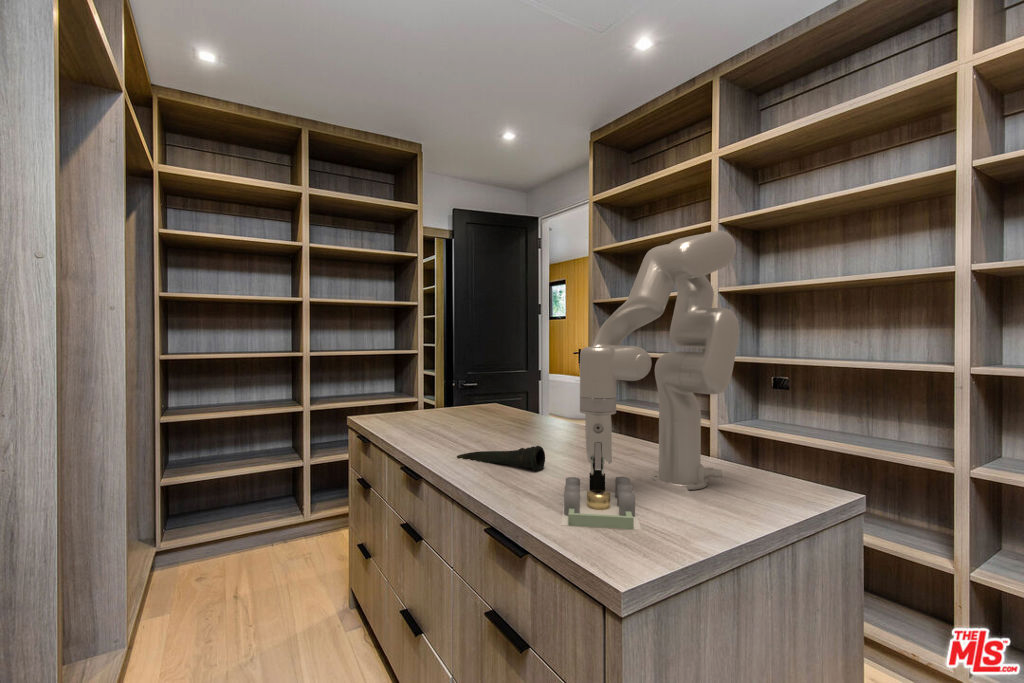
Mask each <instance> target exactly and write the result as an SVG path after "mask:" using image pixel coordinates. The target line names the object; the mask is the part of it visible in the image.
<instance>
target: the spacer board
mask: <svg viewBox="0 0 1024 683" xmlns="http://www.w3.org/2000/svg"><path fill="white" fill-rule="evenodd" d="M614 480H615V484H614V485H615V488H614V490H615V492H609V491H608V492H609V493H610V508H609V509H607V510H594V509H591V508H589V507H587V492H588V491H589V490H587V491H586V490H581V479H580V478H579V477H576V476H569V477H566V478H565V485H564V491H563V506H562V514H561V515H562V516H561V522H560V525H561V526H565V527H581V528H599V529H612V530H613V529H616V530H632V531H635V530H636V531H642V527H641V524H640V522H639V518H638V516H637V512H636V493H635V492H633V485H632V484H631V478H629V477H627V476H616V477H615V478H614Z"/></svg>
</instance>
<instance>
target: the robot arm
mask: <svg viewBox="0 0 1024 683" xmlns="http://www.w3.org/2000/svg"><path fill="white" fill-rule="evenodd" d="M736 253H737V245H736V241H735V238H734V236H732V235H731V234H730V233H729V232H728V231H725V230H716V231H710V232H705V233H701V234H694V235H690V236H686V237H681V238H678V239H677V238H676V239H675V240H673V241H671V242H670V243H667V244H662V245H658V246H655V247H653V248H651V249H650V250H648V251H647V252H646V254H645V256H644V257H643V259H642V262H641V264H640V268H639V269H638V272H637V275H636V277H635V280H634V282H633V285H632V286H631V287H632V288H631V290H630V293H629V295H628V297H627V299H626V301H625V302H624V303H623V304H622V305H620V306H619V307H618V308H617V309H616V310H614V312H613V313H612V314H611V315H610V316H609V317H608V318H607V319H606V320H605V321H604V323H603V324H602V325H601V326H600V328H599V330H598V331H597V333H596V336H595V338H594V340H593V343H592V345H591V346H584V347H583V348H582V349H581V351H580V354H579V413H580V414H585V415H584V416H585V423H584V424H585V426H584V427H585V448H586V457H587V461H588V462H589V463H590V472H589V490H605V491H606V473H605V462H606V463H608V464H612V462H613V458H612V457H613V456H612V454H613V453H612V452H613V446H612V443H613V440H612V439H613V438H612V437H613V434H612V432H613V430H612V425H613V424H612V415H616V414H617V380H619V381H627V382H628V381H629V382H633V381H634V382H635V381H640V380H642V379H643V378H645V377H646V376H648V375H649V373H650V372H651V368H652V358H651V356H650V354H649V353H648V351H647V350H646V349H644V348H643V347H640V346H636V345H622V343H623V341H624V340H625V339H626V338H627V337H628V336H629V335H630V334H632V333H633V332H634V331H636V330H638V329H640V328H641V327H643V326H646V325H647V324H650V323H652V322H653V321H655V320H657V319H658V318H660V317H661V316H662V315H663V314H664V312H665V309H666V306H667V305H668V303H669V298H670V296H671V293H672V290H673V288H674V285H675V283H676V287H677V294H676V300H675V305H674V309H673V315H672V317H671V318H672V320H671V324H670V328H669V337H670V340H671V342H672V344H674V345H676V346H678V347H680V348H685V349H686V348H687V349H705V352H702V351H701V352H700V351H696V352H695V351H683V350H682V351H679V350H678V351H676V350H675V351H669V352H666V353H664V354H662V355H660V356H659V357H658V358H657V360H656V363H655V365H654V377H655V382H656V387H657V395H658V419H659V420H658V471H657V472H654V473H653V474H652V478H651V479H652V481H658V482H661V483H664V484H668V485H669V484H670V485H675V486H685V488H686V490H688V491H690V490H691V491H692V490H700V489H704V488H706V487H707V486H708V478H715V479H716V478H720V479H721V478H723V471H722V468H721V469H718V468H714V467H705V466H704V465H703V464H702V463H701V459H702V458H701V457H702V456H701V454H702V453H701V450H702V449H701V441H702V440H701V437H702V435H701V434H702V433H701V432H702V431H701V429H702V427H701V426H702V425H701V423H702V422H701V420H702V416H701V415H702V411H701V406H700V404H699V401H698V400H697V397H696V395H695V394H704V395H720V394H722V393H724V392H725V391H726V390H727V389H728V387H729V385H730V382H731V379H732V375H733V370H734V365H735V360H736V355H737V351H738V344H739V340H740V339H739V338H740V325H739V324H740V323H739V320H738V317H737V315H736V314H735V313H734V312H733V311H732V310H730V309H728V308H725V307H713V304H714V296H715V294H714V288H713V285H712V284H711V282H710V280H708V278H707V275H710V274H712V273H714V272H717V271H719V270H721V269H724V268H726V267H727V266H729V265H730V264H731V263H732V262H733V260H734V259H735V257H736ZM589 490H588V491H589Z"/></svg>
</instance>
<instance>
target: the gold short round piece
mask: <svg viewBox="0 0 1024 683" xmlns="http://www.w3.org/2000/svg"><path fill="white" fill-rule="evenodd" d="M587 491H588V492H587V507H589V508H591V509H594V510H607V509H609V508H610V493H609V491H607V490H606V489H605V490H587Z"/></svg>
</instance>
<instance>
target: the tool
mask: <svg viewBox="0 0 1024 683" xmlns="http://www.w3.org/2000/svg"><path fill="white" fill-rule="evenodd" d="M456 457H457V458H458V459H460V458H463V459H462V460H467V459H470V460H469V461H473V460H476V461H475V462H480V461H483V463H488V462H490V464H501V465H511V466H512V465H513V466H517V467H521V468H525V469H529V470H533V472H541V471H543V470H544V467H545V463H546V454H545V450H544V448H543V447H542V446H540V445H535V446H534V445H531V447H530V446H529V447H526V448H525V447H521V448H519V449H515V450H485V451H483V450H482V451H471V452H467V453H461V454H458V455H456Z"/></svg>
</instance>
